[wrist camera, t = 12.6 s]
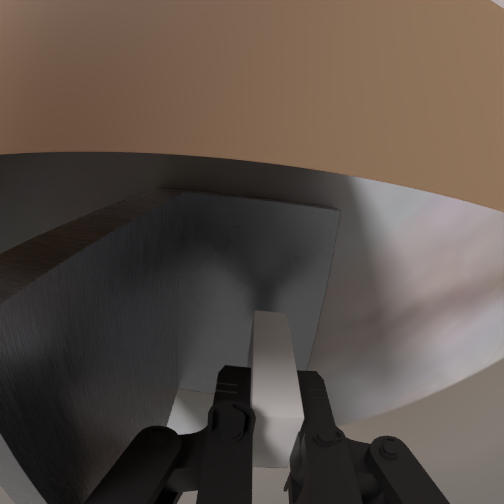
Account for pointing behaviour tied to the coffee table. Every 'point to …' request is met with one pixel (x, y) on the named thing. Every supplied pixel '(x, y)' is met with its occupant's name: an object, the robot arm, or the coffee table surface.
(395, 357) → the coffee table surface
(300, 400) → the robot arm
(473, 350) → the coffee table surface
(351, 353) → the coffee table surface
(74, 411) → the bookend
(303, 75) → the shelf
